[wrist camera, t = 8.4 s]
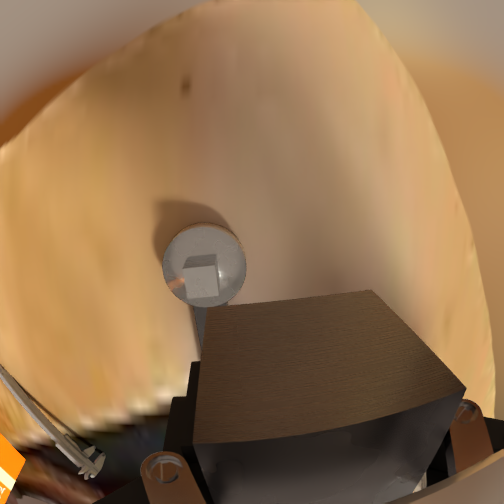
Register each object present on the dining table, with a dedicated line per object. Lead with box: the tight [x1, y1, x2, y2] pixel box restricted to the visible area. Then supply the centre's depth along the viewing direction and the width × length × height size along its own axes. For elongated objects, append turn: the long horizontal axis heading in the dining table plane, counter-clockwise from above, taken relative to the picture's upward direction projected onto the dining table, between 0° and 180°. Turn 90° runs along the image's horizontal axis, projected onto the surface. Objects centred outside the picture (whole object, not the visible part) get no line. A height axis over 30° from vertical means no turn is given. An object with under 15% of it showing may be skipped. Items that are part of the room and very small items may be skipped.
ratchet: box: [162, 223, 246, 350], centre depth 27 cm, size 7×21×5 cm, turn 5°
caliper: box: [0, 365, 106, 480], centre depth 30 cm, size 20×1×6 cm, turn 41°
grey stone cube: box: [193, 290, 466, 504], centre depth 9 cm, size 6×6×6 cm
